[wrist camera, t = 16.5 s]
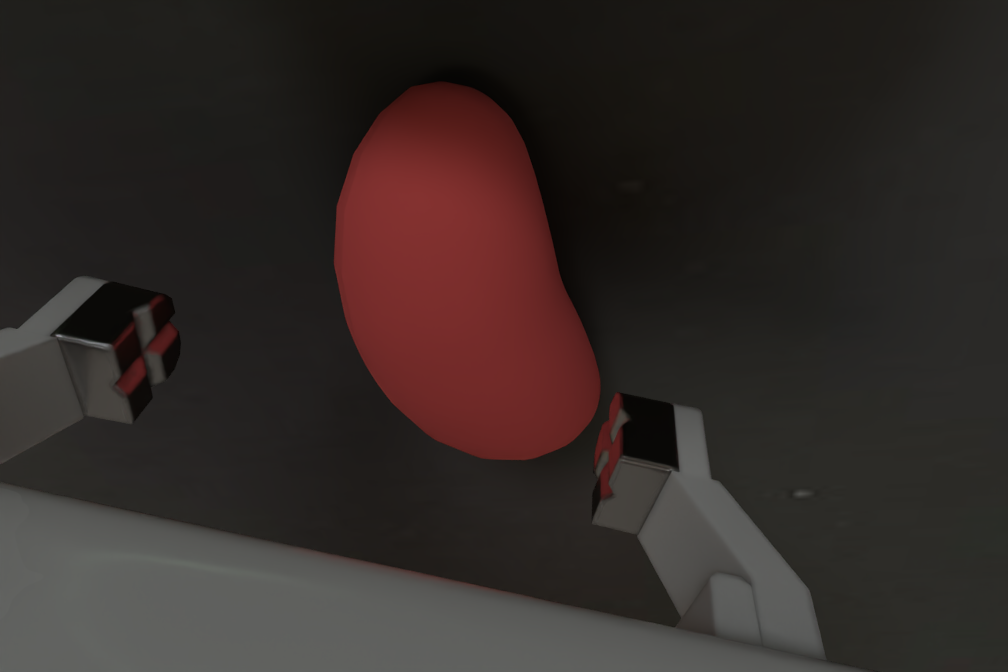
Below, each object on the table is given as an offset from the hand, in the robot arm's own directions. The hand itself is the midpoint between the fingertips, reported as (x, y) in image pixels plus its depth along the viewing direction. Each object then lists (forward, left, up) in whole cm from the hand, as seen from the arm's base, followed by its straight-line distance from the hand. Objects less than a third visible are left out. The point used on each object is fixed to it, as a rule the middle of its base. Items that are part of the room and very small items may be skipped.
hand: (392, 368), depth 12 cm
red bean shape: (-1, -1, -6) cm, 6 cm away
